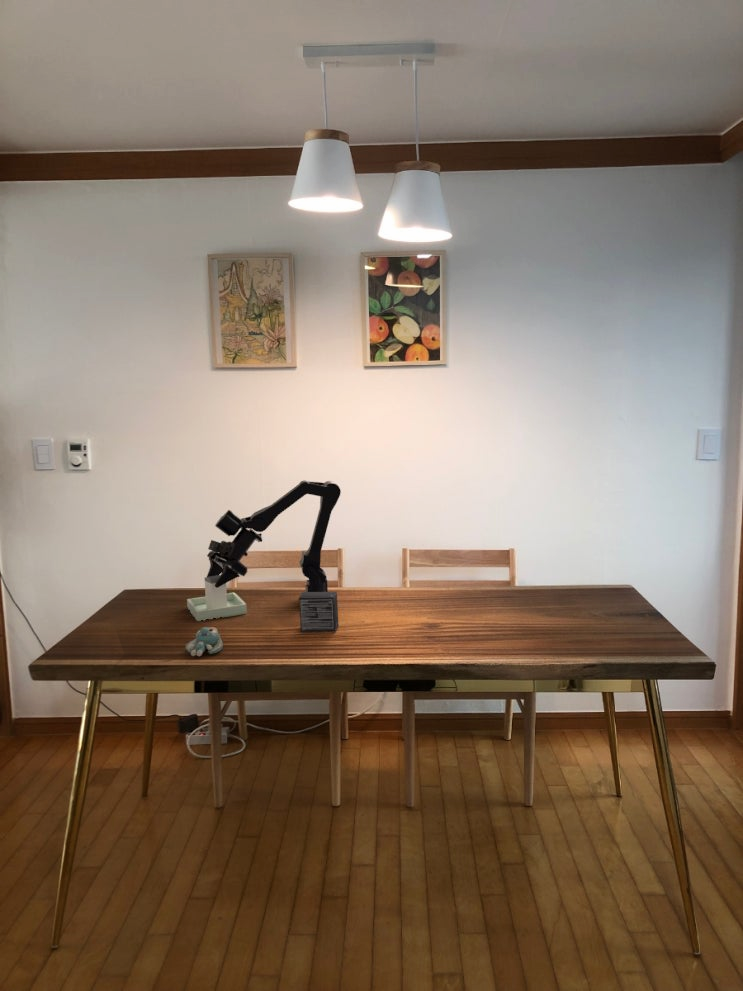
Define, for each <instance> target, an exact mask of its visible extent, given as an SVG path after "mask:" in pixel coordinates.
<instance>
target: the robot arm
mask: <svg viewBox="0 0 743 991" xmlns="http://www.w3.org/2000/svg"><path fill="white" fill-rule="evenodd" d="M341 494H342V492H341V487H340V486H339V485H338V484H337V483H336V482H335V481H333V480H327V481H325V482H319V481H310V480H309V481H307V480H304V479H303V480H302V481H300V482H298V484H297V485H296V486H294V487H293V488H291V490H289V491H288V492H286V493H285V494H284V495H282V496H281V497H280V498H277V500H275V502H273V503H272V504H270V505H268V506H266V507H263V508H261V509H258V510H257V511H254V512H253V513H252V514H251V515H249V516H247V517H243V518H240V517H239V516H238V515H236V514H235V513H233V511H232V510H231V509H228V510H227V511H226V512H225V513H224V514H223V515H222V516H220V518H219V519H218V520H217V522H216V523H215V525H214V526H215V528H217V529H218V530H220V531H221V532H222V533H224V534H225V535H227V536H228V537H234V536H235V537H234V538H233V540H232V541H225V540H222V541H220V542H219V541H216V540H213V539H210V543H209V545H208V549H207V550H210V551H209V552H208V554H206V556H207V558H208V561H209V564H210V565H209V570H208V571H207V574H206V577H210V576H216V575H220V577H219V579H218V580H217V582H216V584H215V587H216V588H218V587H220V586H222V585H223V584H225V583H226V584H227V583H228V582H231V581H233V580H235V579H237V578H240V577H245V576H246V574H247V573H248V567H247V566H246V565H245V564H243V563H242V562H241V561H242V559H243V557H247V556H248V555H249V554H248V551H249V549H250V548H251V547H252V546H253V544H254V542H258V543H261V542H263V537H262V535H263V534H262V533H263V532H264V531H266V530H267V529H268V528H269V526H270V525H271V524H272V523H273V522H274V521H275V520H276V518H277V517H278V516H279V515H281V513H283V512H284V511H286V510H287V509H288V508H290V507H291V506H293V504H295V503H297V502H298V501H299V500H301V499H302V498H304V497H305V496H306V495H312V496H317V497H319V498H320V499H319V500H320V501H319V510H318V514H317V517H316V521H315V526H314V528H313V533H312V536H311V540H310V543H309V547H308V549H307V551H304V550H302V552H301V558H300V560H299V566H300V569H301V572H302V575H303V576H304V577H306V578H307V579H306V584H305V585H304V586H305V587H304V588H305V589H304V591H305V592H329V591H328V590H329V589H328V586H329V585H328V579H327V575H326V572H325V570H324V569H323V568H322V567H321V560H322V559H321V556H322V553H321V552H322V548H323V545H324V542H325V541H324V540H325V537H326V533H327V530H328V525H329V522H330V518H331V515H332V512H333V509H334V508H335V506H336V504H337V502H338V501H339V498H340V497H341ZM257 532H258V533H257Z"/></svg>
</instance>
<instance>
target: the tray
mask: <svg viewBox="0 0 743 991" xmlns="http://www.w3.org/2000/svg"><path fill="white" fill-rule="evenodd" d="M186 604H187V606H186V607H187V610H190V611H189V612H190V613H191V615H192V616H193V618H194V617H195V618H194V619H195V620H196V622H202V621H201V620H203V621H207V620H206V619H209V620H213V618H216V619H221V618H220V617H222V618H227V617H228V618H229V617H234V616H240V615H247V614H248V610H247V609H248V607H247V603H246V601H244V600H243V599H242V598H241V597H240V596H239V595H238V594H237V593H235V592H229V593H227V607H221V608H214V609H207V608H206V596H199V597H193V598H186Z"/></svg>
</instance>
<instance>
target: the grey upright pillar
mask: <svg viewBox="0 0 743 991" xmlns="http://www.w3.org/2000/svg"><path fill="white" fill-rule="evenodd" d="M220 575H221V574H219V575H216V576H210V577H207V576H206V577H204V592H205V593H204V594H205V595H204V597H206V608H207V609H214V608H221V607H227V583H225V584H223V585H222V586H220V587H218V588H216V587H215V584H216V582H217V580H218V579H219V577H220Z"/></svg>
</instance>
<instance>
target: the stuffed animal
mask: <svg viewBox="0 0 743 991" xmlns="http://www.w3.org/2000/svg"><path fill="white" fill-rule="evenodd" d="M223 646H224V643H223V641H222V639H221V635H220V634H219V631H218V629H217V628H216V627H207V626H203V627H202V628H201V629H200V630H198V631H197V632H196V634H195V638H194V639H193V640H191V641H189V642H187V643H186V644H185V648H186V651H187V652H188V653H189V654H190V655H191V656H192V657H196V656H197V657H201V656H202V655H203V653H204V652H205V651H206V650H207V653H208V654H209V655H211V654H212V655H213V654H214V653H215V654H217V653H218V652H220V651H222V648H223Z"/></svg>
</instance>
